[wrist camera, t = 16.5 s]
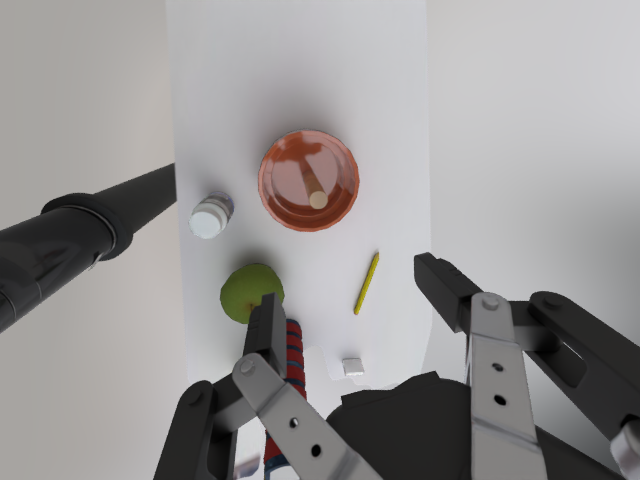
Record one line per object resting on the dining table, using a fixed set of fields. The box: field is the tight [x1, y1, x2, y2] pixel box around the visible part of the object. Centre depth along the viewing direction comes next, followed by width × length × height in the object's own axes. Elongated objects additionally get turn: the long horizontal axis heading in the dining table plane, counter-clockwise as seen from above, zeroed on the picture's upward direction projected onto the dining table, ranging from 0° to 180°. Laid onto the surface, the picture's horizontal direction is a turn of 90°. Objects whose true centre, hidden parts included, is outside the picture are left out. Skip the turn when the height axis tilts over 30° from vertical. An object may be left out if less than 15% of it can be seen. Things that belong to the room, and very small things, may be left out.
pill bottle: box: [189, 192, 234, 239], centre depth 34 cm, size 5×5×8 cm
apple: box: [220, 264, 284, 324], centre depth 41 cm, size 11×10×10 cm
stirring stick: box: [302, 171, 328, 209], centre depth 32 cm, size 2×2×12 cm
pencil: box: [354, 252, 379, 315], centre depth 49 cm, size 16×1×1 cm, turn 168°
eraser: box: [342, 359, 365, 376], centre depth 60 cm, size 1×5×4 cm, turn 84°
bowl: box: [258, 129, 359, 232], centre depth 35 cm, size 14×14×6 cm
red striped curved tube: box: [263, 319, 307, 480], centre depth 46 cm, size 25×7×25 cm, turn 172°
